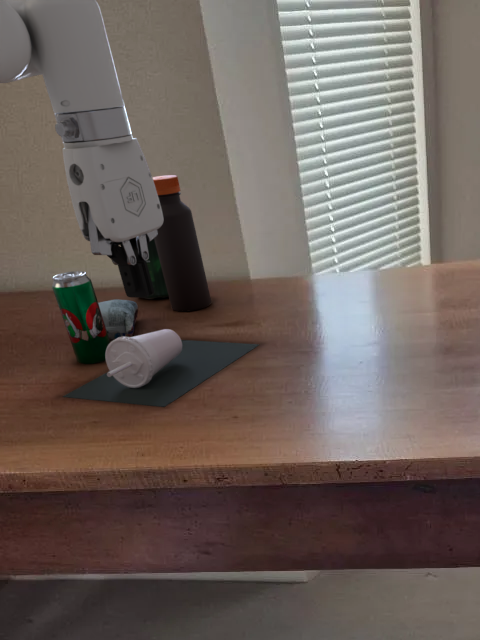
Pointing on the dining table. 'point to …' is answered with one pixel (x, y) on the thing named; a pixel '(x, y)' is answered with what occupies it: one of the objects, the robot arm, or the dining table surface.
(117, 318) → the packaged food
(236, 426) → the dining table surface
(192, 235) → the vinegar
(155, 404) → the mat
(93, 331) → the soda can
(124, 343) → the smoothie
